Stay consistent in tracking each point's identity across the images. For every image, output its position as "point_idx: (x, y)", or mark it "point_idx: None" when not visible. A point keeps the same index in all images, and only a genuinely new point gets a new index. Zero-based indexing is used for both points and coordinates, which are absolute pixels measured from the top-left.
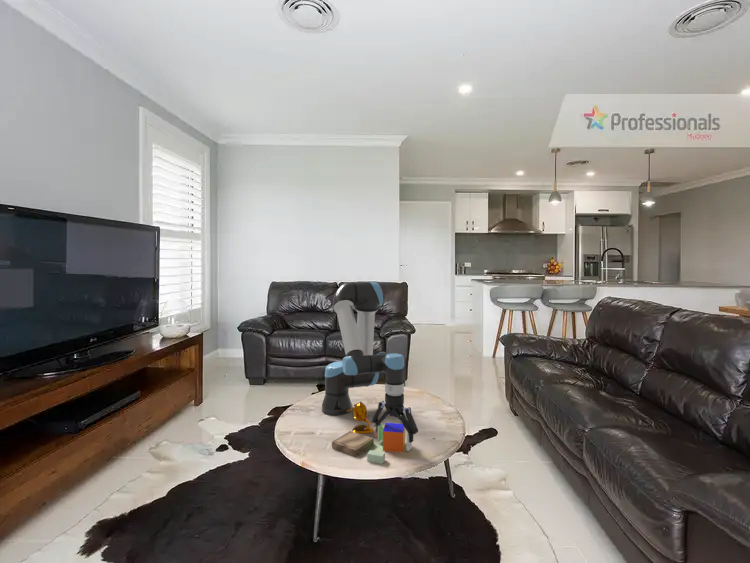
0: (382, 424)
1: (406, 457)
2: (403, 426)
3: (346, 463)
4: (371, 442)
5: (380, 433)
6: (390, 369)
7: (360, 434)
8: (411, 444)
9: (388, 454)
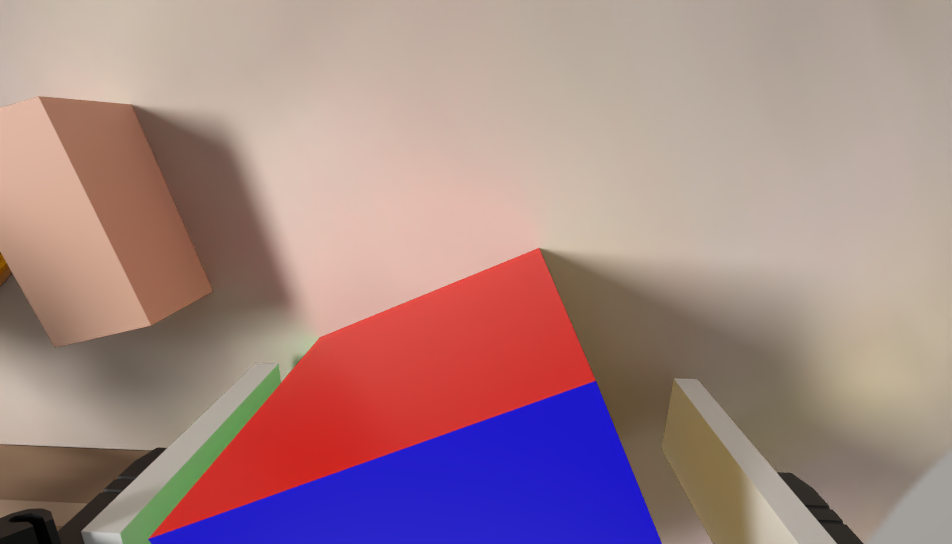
0: (127, 537)
1: (689, 508)
2: (616, 510)
3: None
4: None
5: None
6: None
7: (26, 508)
8: (720, 409)
9: None
